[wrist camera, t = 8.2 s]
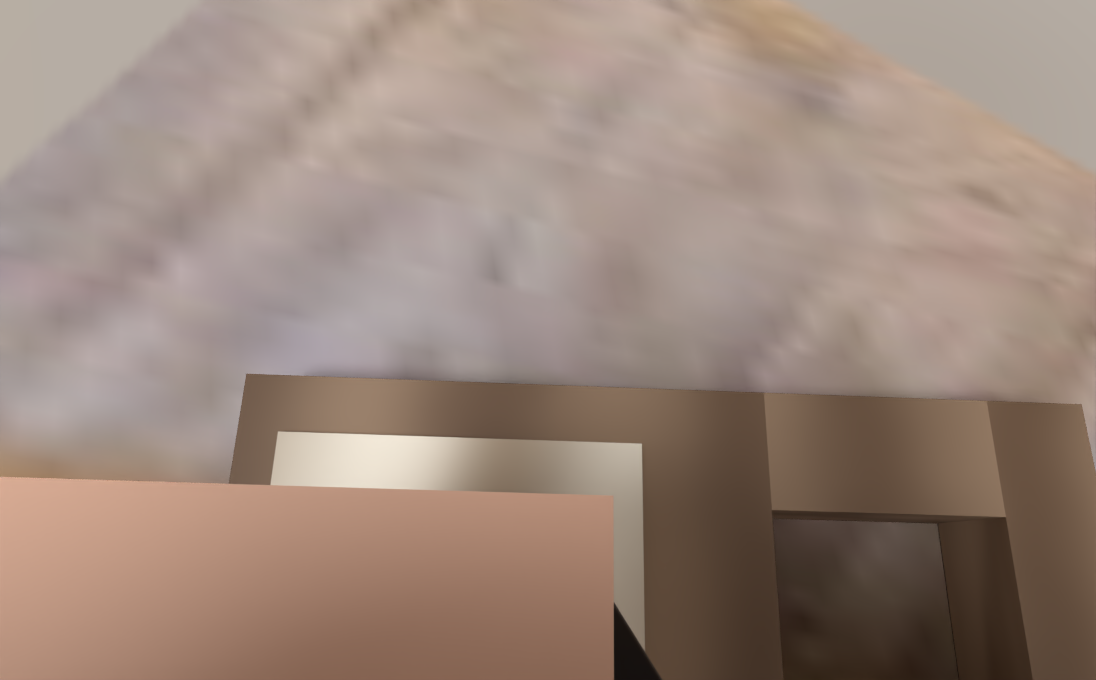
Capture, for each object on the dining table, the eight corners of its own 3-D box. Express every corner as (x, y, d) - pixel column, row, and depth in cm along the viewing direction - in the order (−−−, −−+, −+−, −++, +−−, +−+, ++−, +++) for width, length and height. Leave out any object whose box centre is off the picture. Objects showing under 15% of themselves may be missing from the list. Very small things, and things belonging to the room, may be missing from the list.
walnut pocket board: (1006, 425, 22) (1090, 401, 19) (1087, 888, 18) (1207, 957, 15) (282, 399, 21) (242, 370, 18) (214, 879, 17) (148, 950, 14)
